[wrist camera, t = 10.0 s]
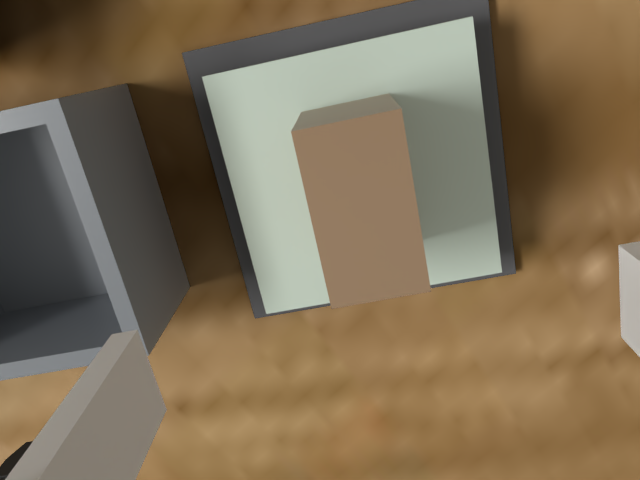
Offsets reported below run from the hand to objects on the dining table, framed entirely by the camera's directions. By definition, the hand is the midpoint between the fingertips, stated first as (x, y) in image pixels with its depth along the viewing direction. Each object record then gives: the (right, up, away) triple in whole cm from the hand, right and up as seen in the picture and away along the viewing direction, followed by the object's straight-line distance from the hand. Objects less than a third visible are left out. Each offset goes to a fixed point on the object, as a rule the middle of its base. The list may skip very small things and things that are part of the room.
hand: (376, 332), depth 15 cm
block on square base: (+1, +7, +20) cm, 21 cm away
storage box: (-19, +4, +22) cm, 30 cm away
